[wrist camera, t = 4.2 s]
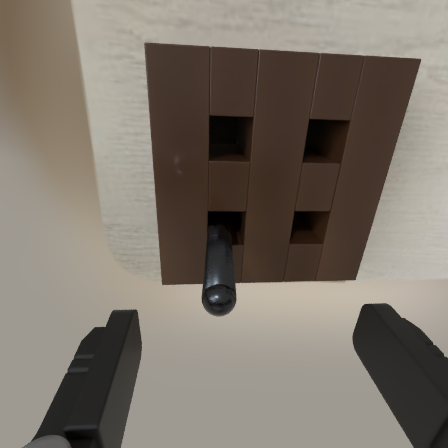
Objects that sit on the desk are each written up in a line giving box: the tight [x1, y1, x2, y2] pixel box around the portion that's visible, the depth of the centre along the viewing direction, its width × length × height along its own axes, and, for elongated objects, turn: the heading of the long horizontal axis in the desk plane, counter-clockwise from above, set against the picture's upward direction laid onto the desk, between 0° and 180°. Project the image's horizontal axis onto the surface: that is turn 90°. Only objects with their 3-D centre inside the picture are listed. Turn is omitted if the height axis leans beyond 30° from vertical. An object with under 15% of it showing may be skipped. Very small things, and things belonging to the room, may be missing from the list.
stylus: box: [202, 211, 236, 316], centre depth 16 cm, size 1×1×13 cm
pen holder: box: [144, 43, 421, 285], centre depth 18 cm, size 14×14×6 cm
